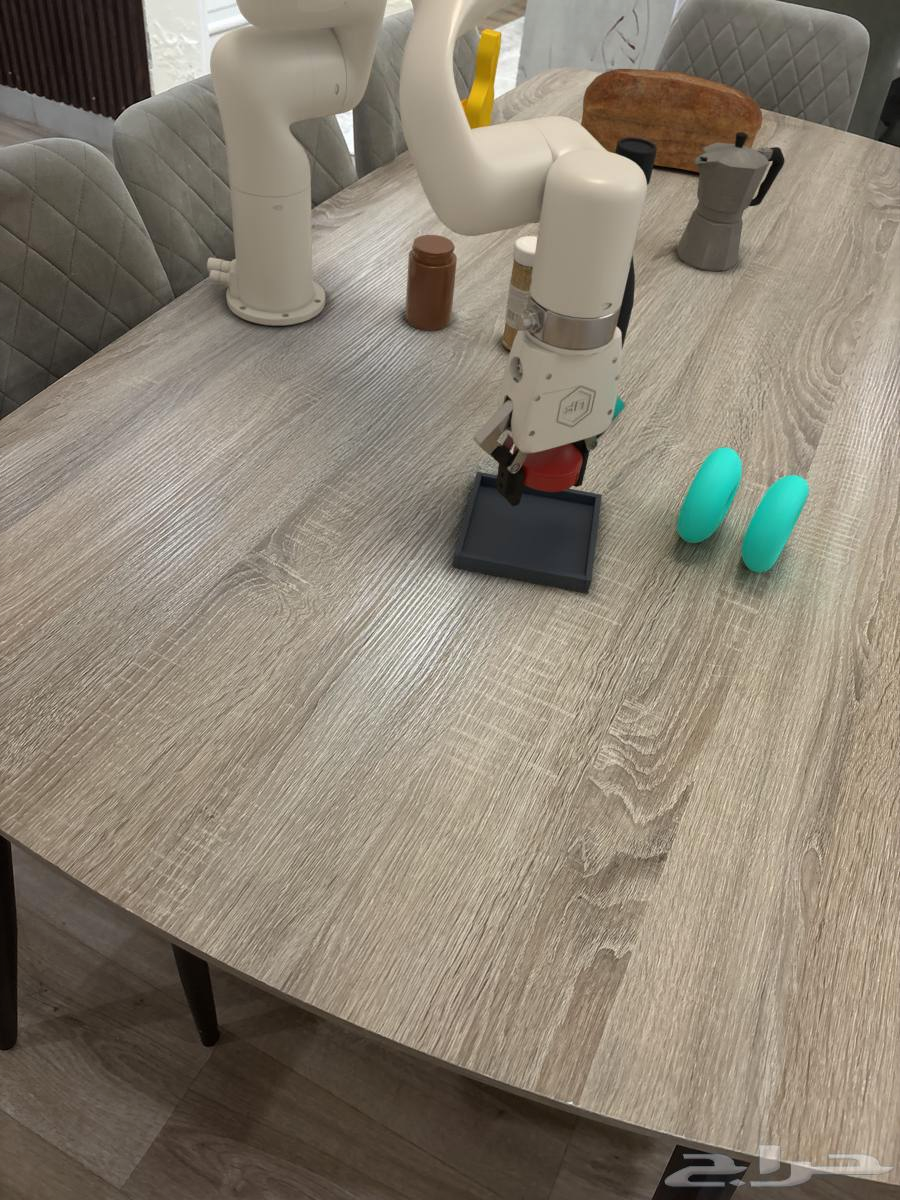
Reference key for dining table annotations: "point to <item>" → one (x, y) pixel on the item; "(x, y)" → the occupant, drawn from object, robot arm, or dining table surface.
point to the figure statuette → (483, 81)
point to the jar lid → (552, 468)
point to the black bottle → (644, 158)
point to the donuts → (714, 500)
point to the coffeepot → (725, 201)
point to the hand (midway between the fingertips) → (539, 486)
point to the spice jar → (519, 285)
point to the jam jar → (430, 282)
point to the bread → (667, 113)
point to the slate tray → (530, 535)
